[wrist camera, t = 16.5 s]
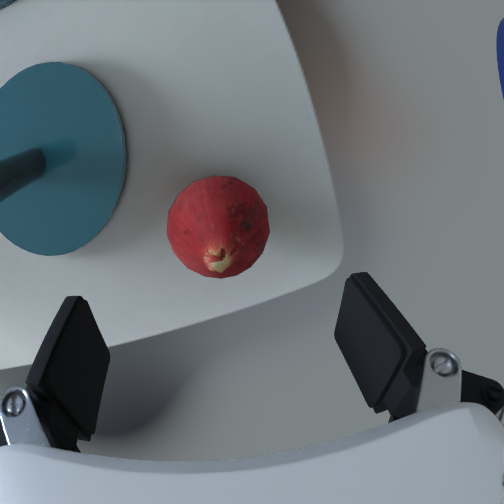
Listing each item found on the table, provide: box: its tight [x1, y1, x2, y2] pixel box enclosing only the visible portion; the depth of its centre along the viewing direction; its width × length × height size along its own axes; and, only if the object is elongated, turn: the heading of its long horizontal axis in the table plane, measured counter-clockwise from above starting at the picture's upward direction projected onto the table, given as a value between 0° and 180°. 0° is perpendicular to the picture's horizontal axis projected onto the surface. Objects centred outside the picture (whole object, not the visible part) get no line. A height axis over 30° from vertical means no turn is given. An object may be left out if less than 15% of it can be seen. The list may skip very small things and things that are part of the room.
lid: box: [0, 62, 126, 256], centre depth 13 cm, size 15×15×7 cm
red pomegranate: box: [167, 176, 270, 279], centre depth 16 cm, size 6×6×8 cm
